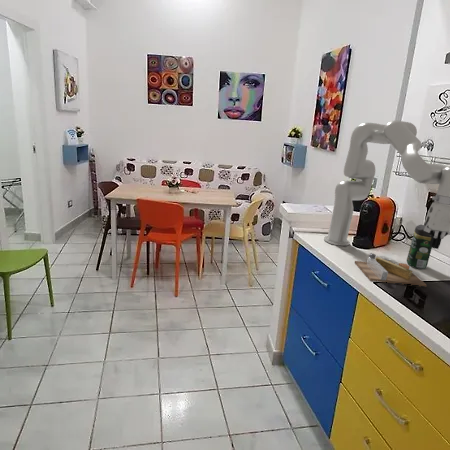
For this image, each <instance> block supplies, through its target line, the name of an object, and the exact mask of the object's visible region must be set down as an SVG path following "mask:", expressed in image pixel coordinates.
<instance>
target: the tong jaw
mask: <svg viewBox="0 0 450 450" xmlns="http://www.w3.org/2000/svg"><path fill="white" fill-rule="evenodd" d="M375 260H376V261H377V262H378V263H379V264H380V265H381V266H382V267H383V268H384V269H385V270H386V271H388V272H390V273H393V274H395V275H397V276H400V277H402V278H404V279H406V280H409V279H410V278H411V275H412V273H413V270H411V269H410V268H409V269H406V268H404V267H401V266H399V264H397V263H394V262H391V261H389V260H386V259H384V258H381V257H379V256H377V257H375Z"/></svg>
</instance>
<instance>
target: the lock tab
mask: <svg viewBox="0 0 450 450" xmlns="http://www.w3.org/2000/svg"><path fill="white" fill-rule="evenodd" d="M398 265H399V266H401V267H404V268H406V269H409V270H410V265H409V264H408V263H403V262H402V263H401V262H399V263H398Z"/></svg>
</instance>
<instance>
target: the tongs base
mask: <svg viewBox="0 0 450 450" xmlns="http://www.w3.org/2000/svg"><path fill="white" fill-rule="evenodd" d="M375 259H376V253H372V252H371V253H369V255H368V258H367V261H366V262H367V266H368V267H369V268H370V269H371V270H372V271H373V272H374V273H375V274H376V275H377V277H378V278H379V279H380V280H385V281H386V278H387V275H388V272H387V271H386V270H385V269H384V268H383V267H382V266H381V265H380V264H379V263H378V262H377V261H376V260H375Z"/></svg>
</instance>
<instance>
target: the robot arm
mask: <svg viewBox="0 0 450 450" xmlns="http://www.w3.org/2000/svg"><path fill="white" fill-rule="evenodd" d="M417 133H418V131H417V126H415V124H414V123H411V122H409V121H401V120H392V121H389V122H388V123H387V124H380V123H375V122H374V123H373V122H363V123H360V124H359V125H357V126H356V127H355V128H354V129H353V131H352V133H351V136H350V142H349V148H348V152H347V155H346V160H345V162H344V166H343V175H344V176H345V177H346V178H348V179H355V180H343V181H340V182H338V183H337V185H336V186H335V188H334V202H333V207H332V208H333V210H332V214H331V218H330V223H329V229H328V233H327V235H326V236H324V239H323V240H324V242H326V243H327V244H328V243H329V244H331V245H334V246H339V247H346V246H347V247H348V246H349V245H350V241H349V240H348V236H349V232H350V227H351V224H352V223H351V222H352V218H353V215H354V204H353V201H363V200H365V199H366V198H368V196H369V194H370V192H371V188H372V185H373V181H374V179H375V175H376V165H375V163H374V162H373V160H369V159H367V155H368V153H369V151H368V149H369V146H368V143H372V144H380V145H392V147H393V148H394V149H395V150H396V152H397V153H398V154H399V155H400V156H401V165H402V167H403V168H404V170H405V171H406V173H407V174H408V175H409V177H410V178H412V179H413V180H414V181H415V182H417V183H420V184H425V185H426V184H428V185H438V187H437V190H436V194H435V196H432V198H431V200H432V201H433V202H432V203H431V205H430V207H429V209H428V211H427V214H426V218H425V219H424V220H425V221H424V225H425V228H424V231H426V232H428V233H430V236H432V237H431V241H430V247H432V249H437V250H439V248H440V246H441V243H442V240H443V239H444V238H445V237H446V236H449V235H450V166H447V165H444V164H438V163H437V164H436V163H427V162H426V161H425V160H424V158H423V157H422V156H421V155H420V154H419V151H420V150H421V148H422V142H421V139H419V138H418V137H417ZM430 229H431V230H430Z"/></svg>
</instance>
